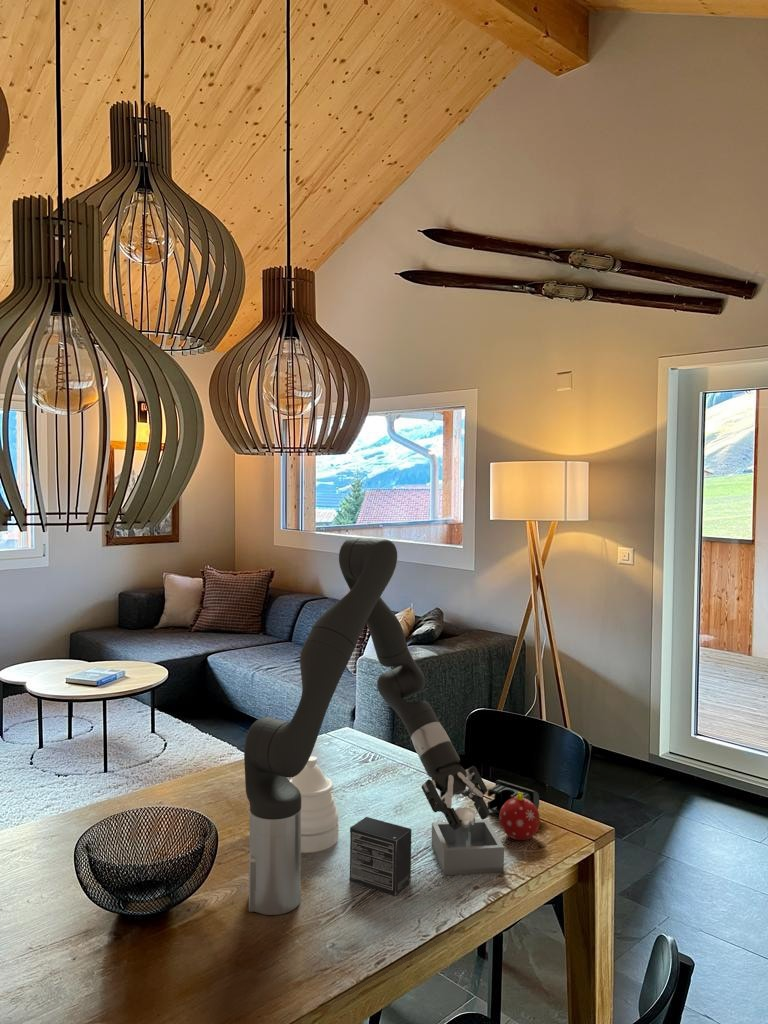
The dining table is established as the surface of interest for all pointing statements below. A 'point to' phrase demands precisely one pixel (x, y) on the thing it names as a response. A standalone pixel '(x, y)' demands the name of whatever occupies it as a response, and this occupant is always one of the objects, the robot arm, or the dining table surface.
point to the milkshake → (465, 827)
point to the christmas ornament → (519, 818)
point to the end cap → (508, 796)
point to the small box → (380, 855)
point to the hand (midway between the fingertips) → (472, 822)
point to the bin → (468, 850)
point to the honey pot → (316, 808)
